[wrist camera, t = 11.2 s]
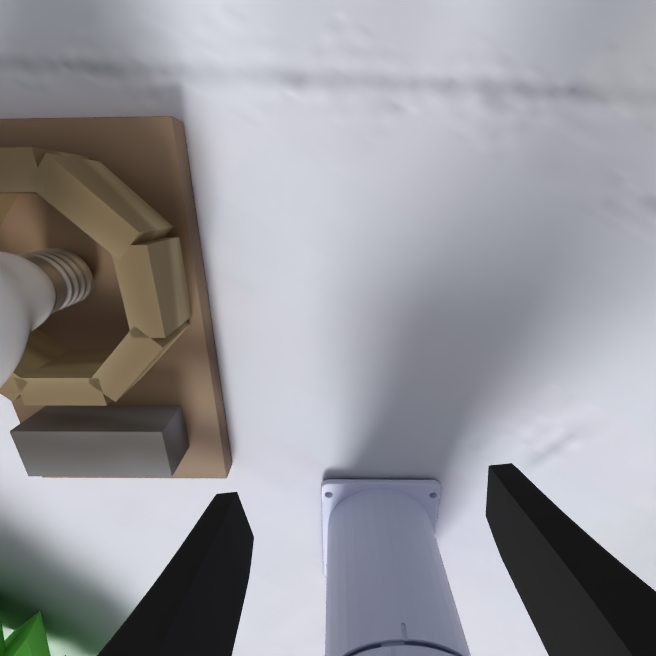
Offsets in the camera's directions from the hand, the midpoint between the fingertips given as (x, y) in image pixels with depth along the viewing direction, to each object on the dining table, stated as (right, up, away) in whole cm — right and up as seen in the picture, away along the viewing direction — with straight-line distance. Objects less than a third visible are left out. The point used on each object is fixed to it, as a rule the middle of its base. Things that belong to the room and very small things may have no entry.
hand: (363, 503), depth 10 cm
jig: (-14, +5, +9) cm, 17 cm away
